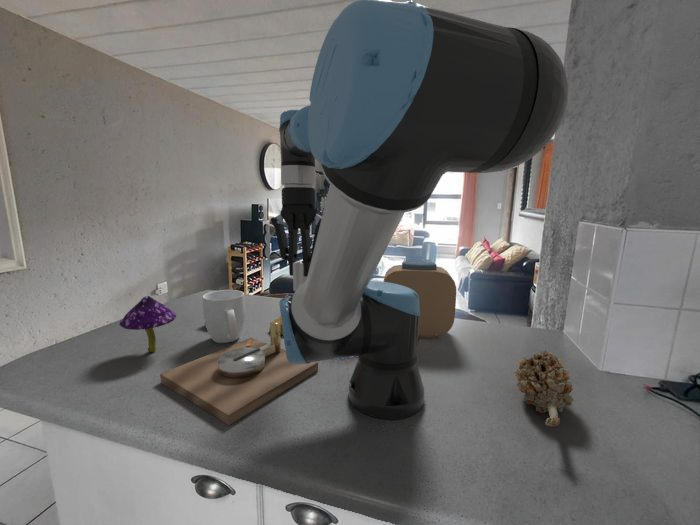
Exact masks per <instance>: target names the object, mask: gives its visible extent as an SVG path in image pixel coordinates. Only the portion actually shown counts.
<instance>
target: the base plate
mask: <svg viewBox="0 0 700 525" xmlns="http://www.w3.org/2000/svg"><path fill="white" fill-rule="evenodd" d="M267 344H268V343H267V342H264V341H261V340H258V339H255V338H253V337H249V338H247V339H244V340H241V341H239V342H236V343H233V344H231V345H228V346H227V347H224V348H222V349H220V350H217V351H214V352H211V353H208V354H206V355H204V356H202V357H199V358H197V359H194V360H191V361H188V362H186V363H183V364H181V365H179V366H176V367H174V368H172V369H168V370H166V371H164V372H162V373H160V374H159V375H160V377H159V378H160V383H162V384H163V385H165V386H166V387H168V388H169V389H170V390H172V391H174V392H175V393H178V394H179V395H180V396H182V397H184V398H185V399H187V400H189V401H190V402H191V403H193V404H194V405H196V406H198V407H199V408H201V409H202V410H204V411H206V412H207V413H208V414H210V415H212V416H214V417H215V418H217V419H218V420H219V421H221V422H223V423H225V424H226V425H228V426H231V425H232V424H234V423H235V422H237V421H239V420H240V419H242V418H243V417H245V416H247V415H248V414H250V413H251V412H253V411H255V410H257V409H258V408H259V407H262V406H263V405H264V404H266V403H268V402H269V401H271V400H272V399H274V398H276V397H278V396H279V395H281V394H282V393H284V392H285V391H288V388H289V389H290V388H292V387H293V386H295V385H297V384H298V383H300V382H301V381H303V380H305V379H306V378H309V377H310V376H311V375H313V374H315V373H316V372H318V371H319V361H316V362H310V363H309V364H292V363H290V362H289V361H288V360H287V357H286V350H285V349H283V348H281V350H280V351H278V352H274V353H272V354H270V355H268V356H266V357H265V366H264V367H263V369H261V370H260V371H258V372H257V373H254V374H252V375H249V376H244V377H227V376H224V375H222V374H220V373H219V371H218V358H219V357H220V356H221V355H222V354H224V353H226V352H228V351H231V350H234V349H239V348H256V349H257V348H260V347H262V346H264V345H267ZM309 375H310V376H309Z"/></svg>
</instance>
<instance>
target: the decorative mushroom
mask: <svg viewBox="0 0 700 525" xmlns="http://www.w3.org/2000/svg"><path fill="white" fill-rule="evenodd" d="M176 318H177V314H176V312H174V311H173V310H172V309H170V308H169V307H168V306H166V305H164V304H163V303H161V302H159V301H158V300H156V299H154V298H153V297H151V296H149V295H144V296H143V297H142V298H141V300H140V301H139V302H137V303H136V304H135V305H134V306H133V307H132V308H130V309H129V311H128V312H127V313H126V314H125V315H124V317H123V318H122V319H121V320H120V322H119V326H120V327H122V328H123V329H126V330H133V331H135V330H137V331H138V330H145V333H146V335H147V340H148V347H147V352H150V353H153V352H156V351H157V344H156V343H157V339H156V334H155V331H154V329H155V328H159V327H161V326H165V325H167V324H170V323H172V322H174V320H175V319H176Z"/></svg>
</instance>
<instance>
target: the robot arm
mask: <svg viewBox="0 0 700 525" xmlns="http://www.w3.org/2000/svg"><path fill="white" fill-rule="evenodd" d="M568 98H569V83H568V77H567V70H566V69H565V66H564V64H563V62H562V59H561V57H560V56H559V55H558V53H557V52H556V51H555V49H554V48H553V47H552V46H551V44H549V43H548V42H547V41H546V40H545V39H543V38H542V37H540V36H538V35H535V34H534V33H532V32H530V31H527V30H524V29H519V28H515V27H508V26H507V27H506V26H503V25H499V24H494V23H491V22H487V21H484V20H483V21H482V20H479V19H475V18H472V17H468V16H465V15H460V14H456V13H453V12H448V11H446V10H445V11H444V10H442V9H437V8H433V7H429V6H425V5H422V4H419V2H417V1H413V0H411V1H410V0H409V1H408V0H407V1H405V0H404V1H401V2H400V1H392V0H355V1H352V2H351V3H349V4H348V5H347V6H346V7H345V8H343V10H342V11H341V12H340V14H338V16H337V17H336V18H335V19H334V21H333V22H332V24H331V25H330V27H329V30H328V32H327V33H326V35H325V38H324V40H323V43H322V45H321V48H320V51H319V53H318V57H317V60H316V64H315V67H314V71H313V75H312V80H311V85H310V92H309V101H310V105H305V106H303V107H301V109H289V110H286V111H283V112H282V113H281V114H280V116H279V127H278V129H279V130H278V132H279V139H280V142H279V143H280V184H281V185H282V186H283V187H282V188H281V205H282V208H281V209H280V211H279V212H280V214H278V215H276V216H275V217H270V222H271V224H272V226H273V227H274V229H275V230H274V231H275V235H276V240H277V246H278V250H279V254H280V258H281V259H282V260H284V261H287V262H288V266H289V268H288V269H289V271H288V272H289V275H290V277H292V278H293V279H292V280H293V282H292V284H293V292H294V294H293V295H292V296H289V295H288V296H287V297H283V298H281V299H280V300H279V303H278V304H279V305H278V306H279V311H280V312H279V313H280V316H281V321H282V328H283V335H282V336H283V342H284V350H286V357H287V360H288V361H289V362H290V363H292V364H309V363H310V362H321V361H322V362H323V361H327V360H335V359H340V358H347V357H354V356H357V361H356V364H355V366H354V369H353V372H352V374H351V377H350V380H349V382H348V383H349V384H348V398H349V401H350V403H351V405H352V407H354V408H355V409H357V410H358V411H359V412H361V413H363V414H365V415H368V416H370V417H372V418H378V419H382V420H397V419H398V420H399V419H404V418H408V417H410V416H414V415H415V414H416V413H418V412H419V411H420V410H421V409H422V408H423V406H424V402H425V386H424V383H423V379H422V376H421V373H420V370H419V366H418V347H419V346H418V345H419V338H418V329H419V316H420V306H419V296H418V294H417V293H416V292H415V291H414V290H412V289H410V288H408V287H405V286H402V285H398V284H394V283H388V282H383V281H382V280H381V281H378V280H371V279H372V277H373V276H374V273H375V271H376V270H377V267H378V266H379V264H380V262H381V260H382V258H383V257H384V254H385V253H386V250H387V248H388V246H389V244H390V242H391V241H392V238H393V236H394V234H395V232H396V231H397V229H398V226H399V224H400V223H401V220H402V219H403V217H404V215H405V213H407V212H408V213H409V212H413V211H415V210H417V209H419V208H421V207H423V206H424V205H425V204H426V203H427V202H428V201H429V199H430V198H431V196H432V195H433V193H434V190H435V189H436V187H437V185H438V184H439V182H440V180H441V178H442V177H443V175H445V174H446V173H468V174H469V173H470V174H471V173H472V174H473V173H474V174H475V173H477V174H483V173H484V174H489V173H496V172H504V171H507V170H509V169H512V168H515V167H518V166H520V165H522V164H524V163H526V162H528V161H529V160H531V159H533V157H535V156H536V155H538V154H539V153H540V152H541V151H542V150H543V149H544V148H545V146H546V145H548V144H549V142H551V140H552V139H553V137H554V135H555V134H556V132H557V131H558V129H559V127H560V125H561V123H562V121H563V119H564V116H565V112H566V110H567V109H566V108H567V106H568V101H569V100H568ZM316 161H317V162H318V163H320V169H321V172H322V174H323V175H324V176H323V177H324V178H325V179H326V181H327V182H328V184H329V188H328V192H327V196H326V200H325V202H324V207H323V211H322V215H319V213H318V210H317V207H316V206H317V204H316V203H317V202H316V199H317V198H316V196H317V195H316V193H317V192H316V189H315V188H314V186H315V185H316ZM284 222H285V223H286V224H287V233H288V240H287V235H286V234H287V233H286V230H285V226H284ZM314 222H315V225H316V226H315V228H314V233H313V241H312V246H311V226H312V224H313V223H314ZM299 232H300V235H301V236H300V238H301V239H300V240H301V252H302V253H301V254H302V261H300V260H299V257H298V238H299V236H298V235H299Z"/></svg>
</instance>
